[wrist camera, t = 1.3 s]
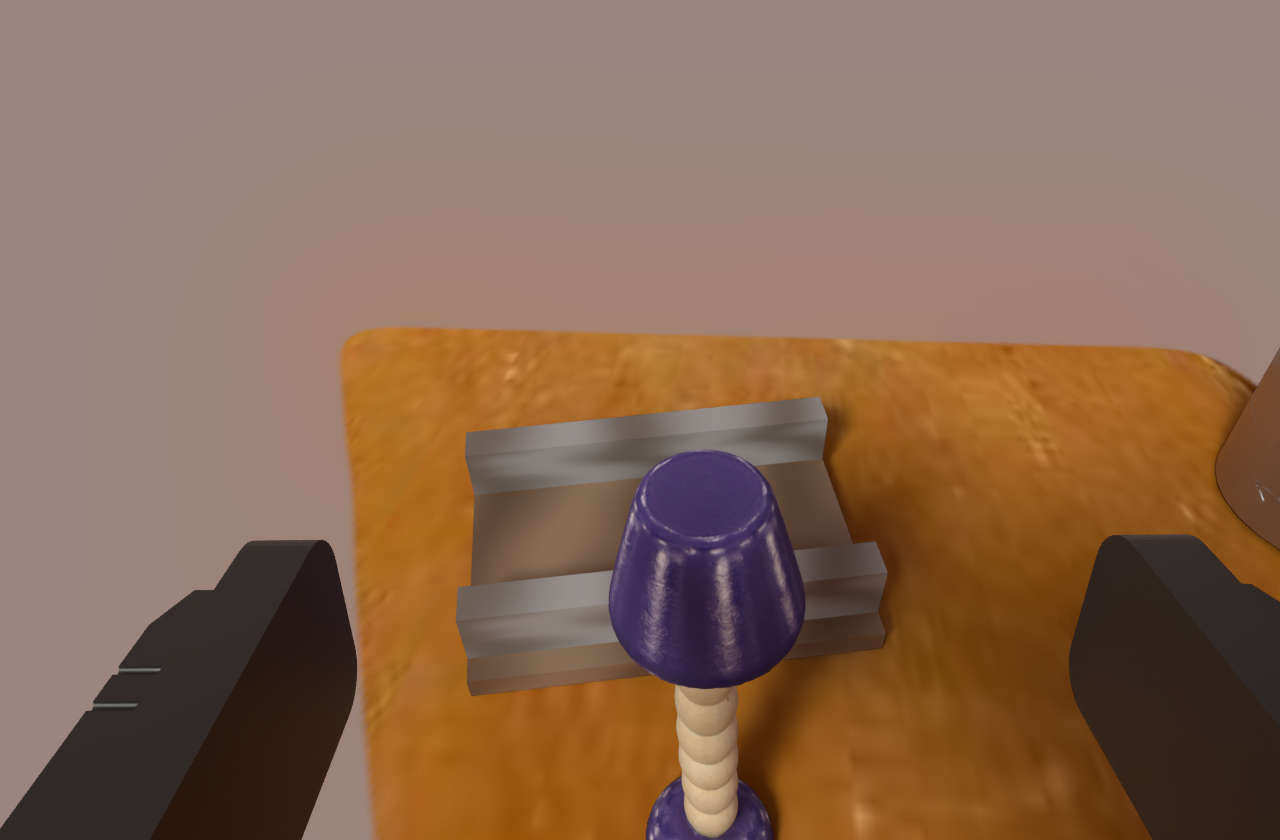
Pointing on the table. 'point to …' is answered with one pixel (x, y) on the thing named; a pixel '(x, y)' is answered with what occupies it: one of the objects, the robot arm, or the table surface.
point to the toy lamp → (706, 624)
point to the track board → (593, 527)
